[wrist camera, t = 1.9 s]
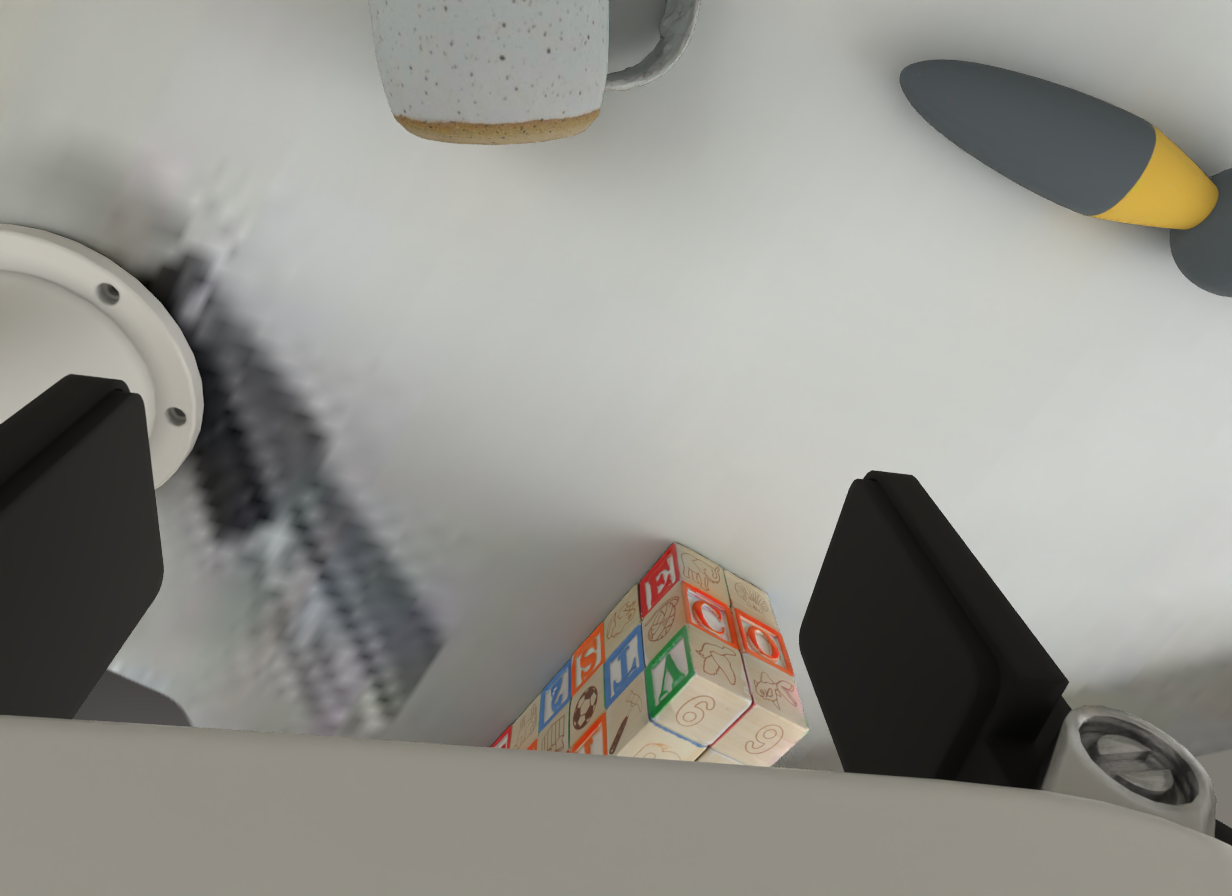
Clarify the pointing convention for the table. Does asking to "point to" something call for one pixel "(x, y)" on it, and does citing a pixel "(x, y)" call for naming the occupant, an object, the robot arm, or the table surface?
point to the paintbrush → (1081, 157)
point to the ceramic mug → (508, 65)
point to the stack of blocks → (674, 676)
